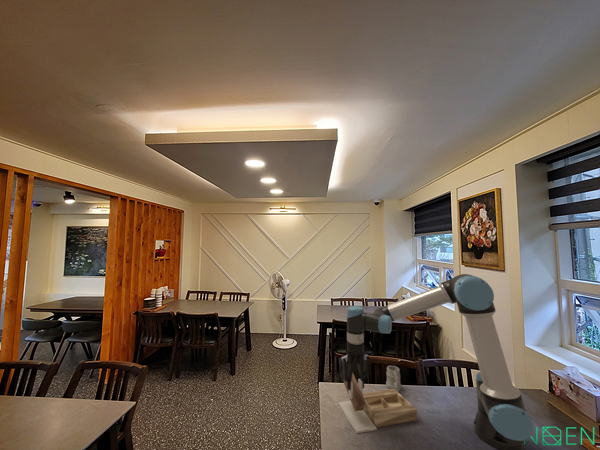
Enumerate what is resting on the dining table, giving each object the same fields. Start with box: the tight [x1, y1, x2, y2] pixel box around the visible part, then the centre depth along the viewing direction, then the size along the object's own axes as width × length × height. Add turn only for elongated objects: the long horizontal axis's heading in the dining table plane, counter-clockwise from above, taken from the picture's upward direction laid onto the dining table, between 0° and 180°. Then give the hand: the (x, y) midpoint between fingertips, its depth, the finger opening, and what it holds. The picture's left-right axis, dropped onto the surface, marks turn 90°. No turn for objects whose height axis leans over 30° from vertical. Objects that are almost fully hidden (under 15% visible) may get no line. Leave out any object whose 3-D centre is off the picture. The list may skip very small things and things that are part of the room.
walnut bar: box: [342, 373, 366, 411], centre depth 109 cm, size 4×14×5 cm, turn 13°
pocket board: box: [363, 389, 418, 428], centre depth 110 cm, size 16×20×4 cm
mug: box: [385, 365, 402, 393], centre depth 128 cm, size 8×12×12 cm, turn 175°
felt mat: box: [338, 400, 378, 434], centre depth 106 cm, size 19×9×1 cm, turn 13°
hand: (355, 396), depth 107 cm, fingers closed on walnut bar, 4 cm apart
